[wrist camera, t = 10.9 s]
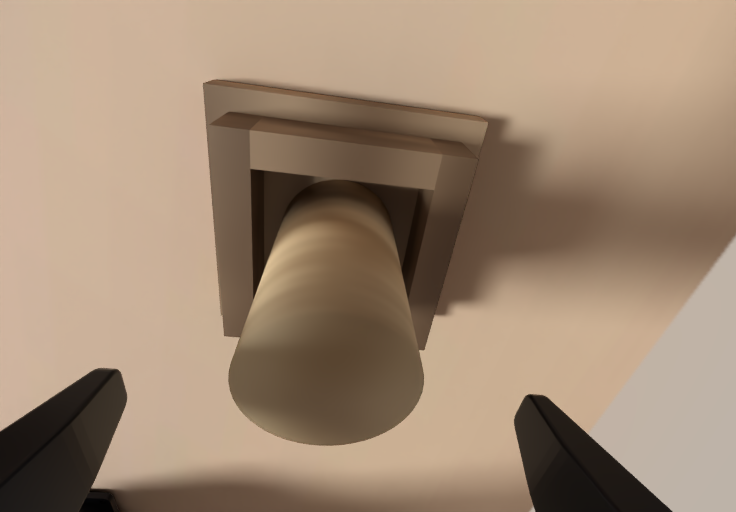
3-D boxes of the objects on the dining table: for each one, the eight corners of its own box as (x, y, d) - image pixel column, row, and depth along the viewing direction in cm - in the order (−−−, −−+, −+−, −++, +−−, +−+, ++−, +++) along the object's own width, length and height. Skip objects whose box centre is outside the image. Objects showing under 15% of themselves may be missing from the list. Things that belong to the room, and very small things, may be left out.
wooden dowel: (281, 271, 17) (233, 441, 10) (283, 173, 14) (222, 302, 7) (382, 280, 17) (404, 449, 10) (400, 186, 15) (443, 320, 8)
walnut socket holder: (228, 299, 19) (205, 349, 16) (214, 79, 14) (177, 92, 11) (424, 315, 20) (438, 364, 17) (478, 116, 15) (510, 137, 12)
